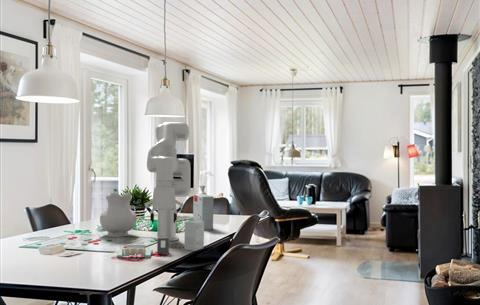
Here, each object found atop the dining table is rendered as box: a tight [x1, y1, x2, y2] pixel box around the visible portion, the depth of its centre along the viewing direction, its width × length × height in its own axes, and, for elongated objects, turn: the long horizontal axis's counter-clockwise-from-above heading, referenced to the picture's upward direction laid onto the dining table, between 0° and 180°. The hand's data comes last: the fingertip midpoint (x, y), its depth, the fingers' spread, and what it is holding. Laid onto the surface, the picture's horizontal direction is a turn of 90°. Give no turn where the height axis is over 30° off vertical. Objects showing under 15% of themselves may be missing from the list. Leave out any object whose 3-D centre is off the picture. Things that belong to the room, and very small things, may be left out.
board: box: [116, 244, 153, 259], centre depth 225 cm, size 14×14×4 cm
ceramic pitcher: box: [99, 188, 138, 238], centre depth 277 cm, size 22×20×25 cm
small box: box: [183, 219, 205, 252], centre depth 242 cm, size 8×6×13 cm
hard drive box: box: [192, 193, 214, 231], centre depth 308 cm, size 16×8×20 cm, turn 25°
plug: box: [156, 237, 170, 255], centre depth 230 cm, size 5×5×7 cm
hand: (163, 222), depth 230 cm, fingers open, 9 cm apart
